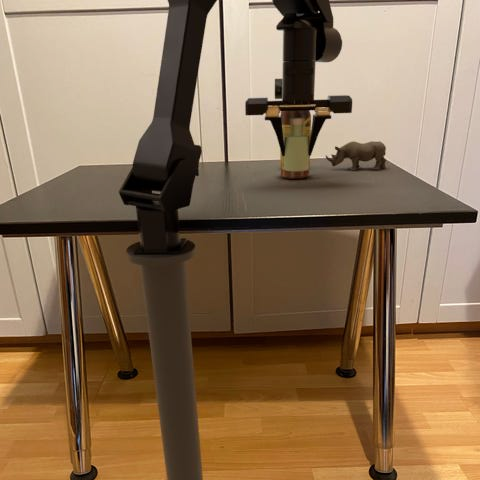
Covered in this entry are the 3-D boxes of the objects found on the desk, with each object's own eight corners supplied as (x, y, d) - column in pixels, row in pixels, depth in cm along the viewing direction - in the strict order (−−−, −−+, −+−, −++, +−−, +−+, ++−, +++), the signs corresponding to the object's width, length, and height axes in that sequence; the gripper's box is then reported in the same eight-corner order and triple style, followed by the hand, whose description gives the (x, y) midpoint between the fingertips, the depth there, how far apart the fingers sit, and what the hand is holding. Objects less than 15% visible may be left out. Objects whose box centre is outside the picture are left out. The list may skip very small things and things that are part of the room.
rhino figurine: (324, 168, 112) (325, 141, 110) (384, 167, 111) (387, 139, 108) (325, 171, 109) (326, 143, 106) (387, 170, 107) (390, 141, 105)
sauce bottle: (311, 179, 100) (315, 72, 91) (281, 180, 100) (282, 73, 91) (307, 174, 106) (310, 72, 97) (279, 174, 106) (279, 73, 97)
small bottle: (308, 171, 89) (310, 118, 85) (284, 171, 90) (284, 119, 86) (307, 167, 93) (309, 117, 89) (283, 167, 94) (284, 117, 90)
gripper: (347, 61, 90) (342, 149, 97) (248, 65, 91) (249, 151, 98) (355, 59, 80) (348, 157, 87) (244, 62, 82) (246, 158, 88)
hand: (296, 155), depth 90 cm, fingers closed on small bottle, 4 cm apart
